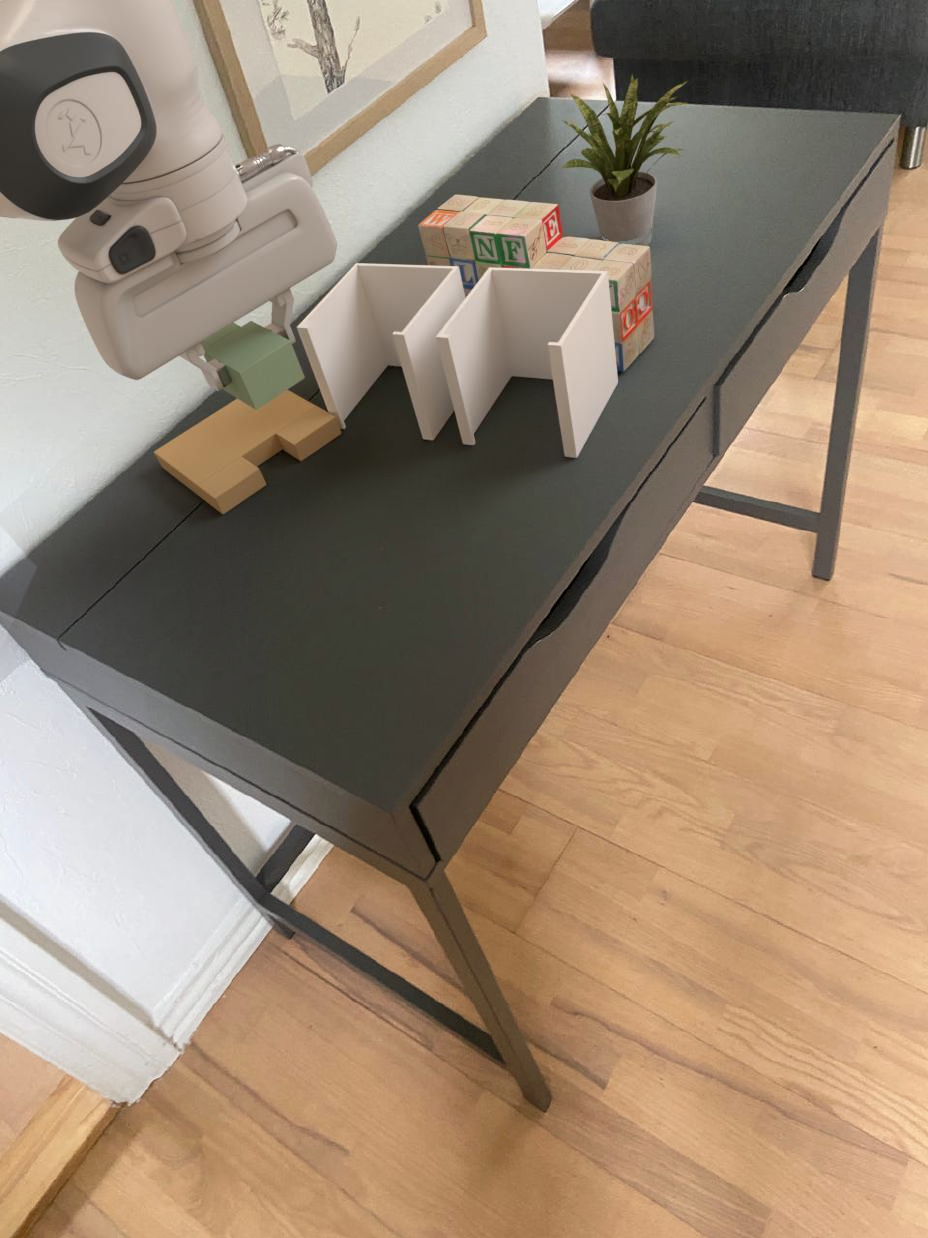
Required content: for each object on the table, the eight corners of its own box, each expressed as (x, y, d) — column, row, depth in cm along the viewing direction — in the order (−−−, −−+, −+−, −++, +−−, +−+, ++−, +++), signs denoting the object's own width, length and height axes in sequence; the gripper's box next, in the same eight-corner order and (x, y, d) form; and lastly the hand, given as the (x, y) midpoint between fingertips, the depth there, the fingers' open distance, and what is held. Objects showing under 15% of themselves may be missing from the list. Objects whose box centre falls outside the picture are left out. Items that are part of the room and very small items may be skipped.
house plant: (709, 265, 94) (709, 95, 83) (575, 290, 96) (556, 128, 85) (687, 205, 104) (684, 45, 92) (566, 229, 106) (547, 75, 94)
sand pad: (223, 515, 83) (214, 498, 82) (162, 467, 90) (153, 451, 89) (342, 433, 88) (335, 416, 86) (275, 394, 95) (268, 378, 93)
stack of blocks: (656, 338, 88) (649, 212, 79) (624, 374, 85) (613, 248, 76) (478, 305, 99) (454, 191, 90) (444, 336, 96) (415, 221, 87)
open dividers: (618, 382, 84) (607, 271, 76) (576, 458, 78) (560, 345, 70) (386, 362, 95) (356, 262, 87) (334, 428, 89) (296, 327, 81)
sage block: (256, 410, 73) (239, 373, 70) (204, 378, 78) (187, 342, 75) (305, 377, 74) (290, 340, 72) (251, 348, 79) (236, 312, 77)
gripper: (273, 127, 69) (330, 293, 79) (35, 253, 63) (130, 417, 73) (320, 139, 66) (373, 312, 76) (72, 274, 59) (167, 445, 69)
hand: (253, 365), depth 74 cm, fingers closed on sage block, 5 cm apart
